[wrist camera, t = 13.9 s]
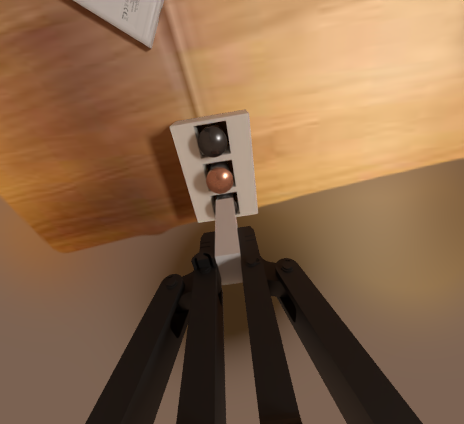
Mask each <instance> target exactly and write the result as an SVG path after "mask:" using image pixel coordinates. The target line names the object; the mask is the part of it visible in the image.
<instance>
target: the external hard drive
mask: <svg viewBox="0 0 464 424" xmlns="http://www.w3.org/2000/svg"><path fill="white" fill-rule="evenodd" d="M73 1H75V2H76V3H78V4H79V5H81V6H83V7H84V8H86V9H88V10H89V11H91V12H92V13H94V14H96V15H97V16H99V17H100V18H102V19H104V20H105V21H107V22H109V23H110V24H112V25H113V26H115V27H117V28H118V29H120V30H121V31H123V32H125V33H126V34H128V35H130V36H131V37H133V38H134V39H136V40H138V41H139V42H141V43H143V44H144V45H146V46H147V47H149V48H151V49H152V45H153V41H154V37H155V33H156V29H157V26H158V22H159V21H158V19H159V15H160V11H161V9H162V6H163V2H164V0H73Z"/></svg>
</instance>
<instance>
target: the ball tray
mask: <svg viewBox="0 0 464 424" xmlns="http://www.w3.org/2000/svg"><path fill="white" fill-rule="evenodd" d="M220 121H226V125H227V131H228V138H229V144H230V146H227V148H226V150H225V152H224V153H223V154H222V155H220V156H218V157H214V158H212V157H208V156H206V155H204V154H203V153H202V152H201V151H200V149H199V146H198V137H199V135H200V134H199V130H198V126H197V125H203V124H209V123H215V122H220ZM169 127H170V130H171V133H172V137H173V140H174V144H175V147H176V150H177V154H178V157H179V160H180V164H181V167H182V170H183V174H184V177H185V180H186V184H187V187H188V190H189V194H190V197H191V200H192V204H193V207H194V210H195V214H196V217H197V220H198V223H200V222H206V221H213V220H215V214H214V204H215V201H214V196H213V195H219V194H217V193H214V192H212V191H211V190H210V189H209V188H208V186H207V184H206V178H207V174H208V170H207V165H206V164H208V163H214V162H220V161H226V160H232V164H233V171H234V176H233V186H232V188H231V189H230V190H229V191H228V192H226V193H231V192H237V197H238V202H236V203H237V207H238V211H237V214H236V217H239V216H246V215H252V214H258V207H257V196H256V185H255V174H254V163H253V152H252V141H251V130H250V119H249V113H248V112H247V111H246V110H239V111H234V112H228V113H222V114H216V115H210V116H204V117H199V118H193V119H187V120H181V121H176V122H174V123H173V124H172V125H171V126H169ZM223 194H225V193H223Z"/></svg>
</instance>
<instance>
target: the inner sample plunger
mask: <svg viewBox="0 0 464 424" xmlns="http://www.w3.org/2000/svg"><path fill="white" fill-rule="evenodd" d="M198 146H199V149H200V151H201V152H202V153H203V154H204V155H206V156H208V157H212V158H214V157H218V156H220V155H222V154H223V153H224V152H225V150H226V148H227V137H226V135H225V133H224V132H223V130H222V128H221V127H220V126H219V125H217V124H209V125H208V126H206V127H205V129H203V130H202V131H201V133H200V135H199V137H198Z"/></svg>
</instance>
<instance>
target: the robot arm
mask: <svg viewBox="0 0 464 424" xmlns="http://www.w3.org/2000/svg"><path fill="white" fill-rule="evenodd" d="M191 262H192V264H193V267H194V271H193V272H191V273H190V274H188V275H185V276H183V277H181V276H180V275H178V274H172V275H169V276H167V277H166V278H165V279H164V280H163V281H162V282H161V284H160V286H159V288H158V290H157V291H156V293H155V295H154V297H153V299H152V301H151V303H150V305H149V306H148V308H147V310H146V312H145V314H144V316H143V317H142V320H141V321H140V323H139V325H138V327H137V329H136V330H135V332H134V334H133V336H132V338H131V340H130V342H129V343H128V345H127V347H126V349H125V351H124V353H123V355H122V356H121V358H120V360H119V362H118V364H117V366H116V368H115V369H114V371H113V373H112V375H111V377H110V379H109V381H108V383H107V384H106V386H105V388H104V390H103V392H102V394H101V395H100V397H99V399H98V401H97V403H96V405H95V407H94V408H93V411H92V412H91V414H90V416H89V418H88V420H87V421H86V423H85V424H153V423H154V420H155V417H156V414H157V412H158V409H159V406H160V403H161V400H162V397H163V394H164V391H165V388H166V385H167V383H168V380H169V377H170V374H171V371H172V368H173V365H174V362H175V359H176V356H177V353H178V351H179V348H180V345H181V342H182V339H183V336H184V333H185V330H186V327H187V325H188V330H187V339H186V347H185V355H184V364H183V372H182V380H181V388H180V397H179V405H178V414H177V422H176V424H226V401H225V362H224V325H223V324H224V323H223V292H222V288H221V282H222V285H226V284H234V283H241V282H243V286H244V294H245V303H246V311H247V320H248V328H249V336H250V345H251V352H252V361H253V369H254V377H255V386H256V394H257V402H258V411H259V419H260V424H302V422H301V418H300V415H299V410H298V406H297V402H296V398H295V394H294V390H293V386H292V382H291V377H290V373H289V369H288V365H287V361H286V357H285V353H284V349H283V344H282V340H281V336H280V332H279V328H278V324H277V320H276V316H275V311H274V307H273V304H272V299H271V296H276V297H277V298H278V300H279V302H280V304H281V305H282V307H283V309H284V311H285V313H286V314H287V316H288V318H289V320H290V322H291V323H292V325H293V327H294V329H295V330H296V332H297V334H298V336H299V338H300V340H301V342H302V343H303V345H304V347H305V349H306V350H307V352H308V354H309V356H310V358H311V360H312V361H313V363H314V365H315V367H316V369H317V370H318V372H319V374H320V376H321V378H322V379H323V381H324V383H325V385H326V386H327V388H328V390H329V392H330V394H331V396H332V397H333V399H334V401H335V403H336V405H337V406H338V408H339V410H340V412H341V414H342V415H343V417H344V419H345V421H346V423H347V424H423V423H422V422H421V421H420V420H419V418H418V417H417V416H416V414H415V413H414V412H413V411H412V409H411V408H410V407H409V405H408V404H407V403H406V402H405V400H404V399H403V398H402V397H401V395H400V394H399V393H398V391H397V390H396V389H395V388H394V386H393V385H392V384H391V382H390V381H389V380H388V379H387V377H386V376H385V375H384V374H383V372H382V371H381V370H380V369H379V367H378V366H377V365H376V363H375V362H374V361H373V359H372V358H371V357H370V356H369V354H368V353H367V352H366V350H365V349H364V348H363V347H362V345H361V344H360V343H359V342H358V340H357V339H356V338H355V336H354V335H353V334H352V333H351V331H350V330H349V329H348V327H347V326H346V325H345V324H344V322H343V321H342V320H341V318H340V317H339V316H338V315H337V314H336V312H335V311H334V310H333V308H332V307H331V306H330V304H329V303H328V302H327V301H326V299H325V298H324V297H323V296H322V294H321V293H320V292H319V290H318V289H317V288H316V287H315V285H314V284H313V283H312V281H311V280H310V279H309V278H308V276H307V275H306V274H305V272H304V271H303V270H302V269H301V267H300V266H299V265H298V264H297V263H296V262H295V261H294V260H292V259H288V258H284V259H281V260H279V261H278V262H277V263H273V262H268V261H265V260H264V259H262V257H261V256H260V254H259V250H258V245H257V241H256V237H255V233H254V230H253V229H252V228H251V227H250V226H247V227H240V228H237V221H236V215H235V208H234V201H233V198H227V199H220V200H216V215H215V232H208V233H204V234H203V235H202V237H201V241H200V251H199V253H198V254H196V255H195V256H194V257H193V258H192V261H191Z"/></svg>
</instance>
